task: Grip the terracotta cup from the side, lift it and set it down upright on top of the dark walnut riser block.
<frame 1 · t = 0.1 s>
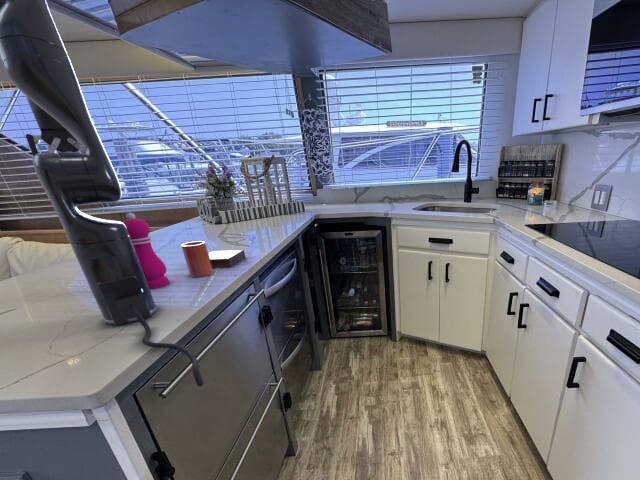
hand: (78, 175, 91), 29 cm above the worktop, tool pointing down, fingers open, 8 cm apart
cup: (202, 274, 99), on the worktop
riser: (222, 263, 109), on the worktop
pepper mill: (156, 285, 91), on the worktop
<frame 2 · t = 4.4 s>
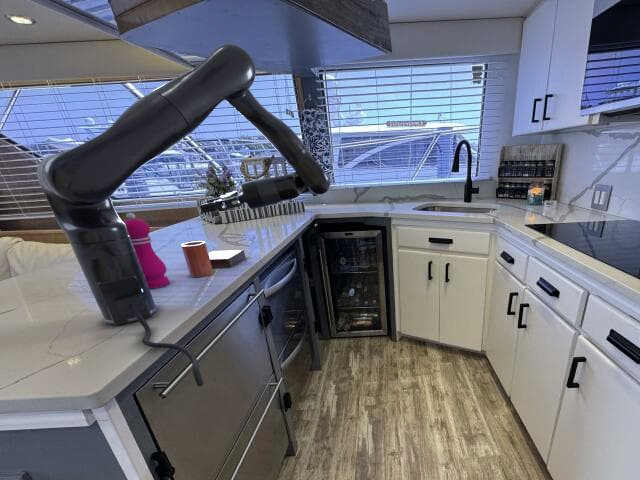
hand: (204, 206, 91), 20 cm above the worktop, tool horizontal, fingers open, 8 cm apart
nothing on the worktop moved.
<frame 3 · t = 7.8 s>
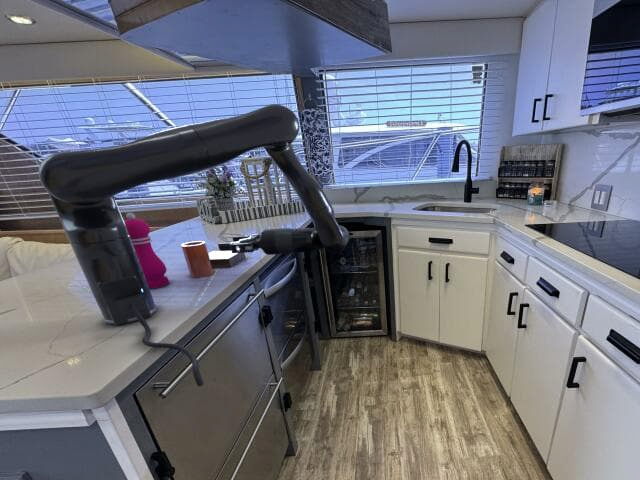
hand: (226, 243, 95), 9 cm above the worktop, tool horizontal, fingers open, 8 cm apart
nothing on the worktop moved.
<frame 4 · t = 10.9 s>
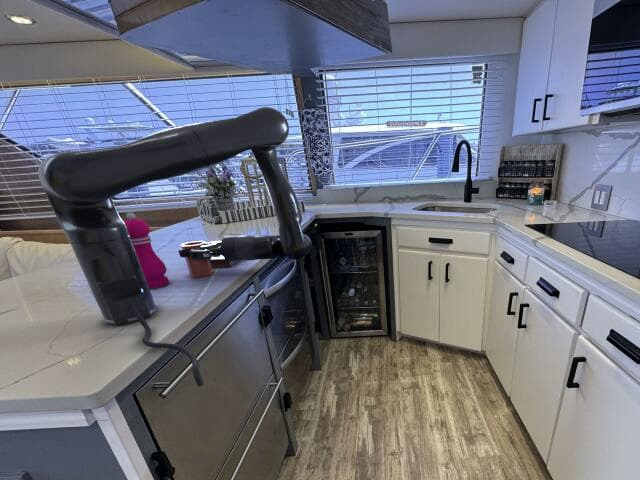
hand: (187, 250, 96), 8 cm above the worktop, tool horizontal, fingers closed on cup, 6 cm apart
cup: (202, 274, 99), on the worktop, touching gripper
everything else where it was.
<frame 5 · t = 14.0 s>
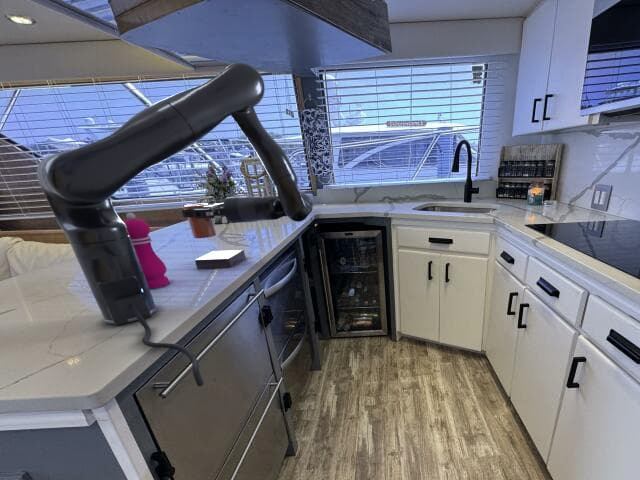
hand: (190, 211, 97), 18 cm above the worktop, tool horizontal, fingers closed on cup, 6 cm apart
cup: (205, 236, 100), point 10 cm above the worktop, touching gripper
everything else where it was.
when the fingers open (11 cm above the worktop, at t = 17.5 s): cup stays where it is, resting on riser.
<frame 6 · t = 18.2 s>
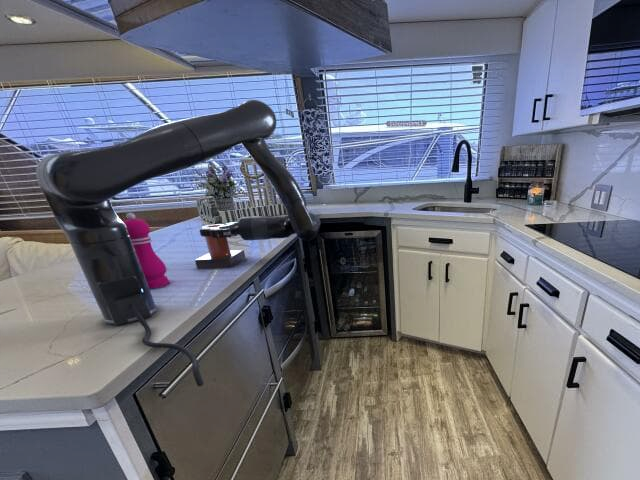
hand: (208, 230, 104), 11 cm above the worktop, tool horizontal, fingers open, 8 cm apart
cup: (220, 254, 108), point 3 cm above the worktop, touching riser
everything else where it was.
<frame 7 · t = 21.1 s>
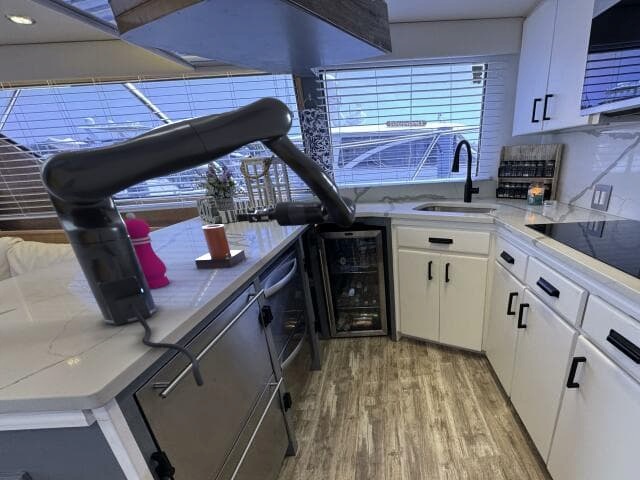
hand: (243, 215, 103), 15 cm above the worktop, tool horizontal, fingers open, 8 cm apart
nothing on the worktop moved.
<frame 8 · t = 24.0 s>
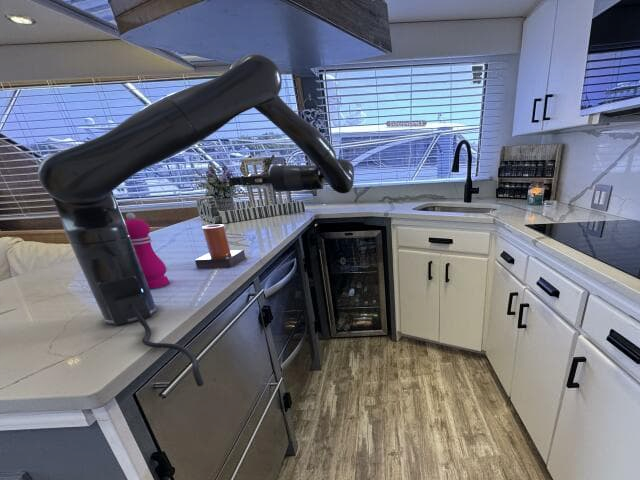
hand: (236, 180, 99), 26 cm above the worktop, tool horizontal, fingers open, 8 cm apart
nothing on the worktop moved.
at the end: cup inside the target area on the riser (0.1 cm from its centre), point 3.0 cm above the riser's base; cup tilted 0° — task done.
